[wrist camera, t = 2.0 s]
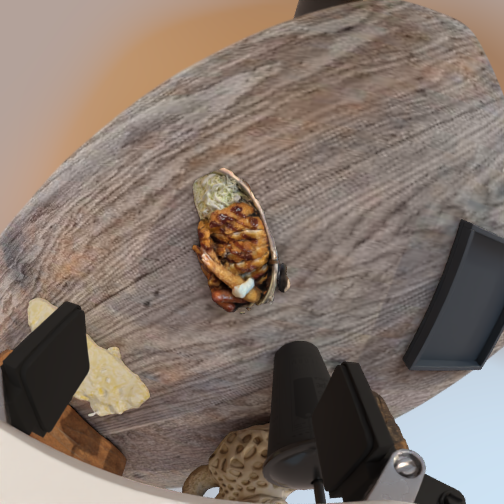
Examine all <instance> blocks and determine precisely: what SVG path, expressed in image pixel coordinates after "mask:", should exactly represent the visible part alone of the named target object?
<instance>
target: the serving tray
mask: <svg viewBox="0 0 504 504" xmlns="http://www.w3.org/2000/svg"><path fill="white" fill-rule="evenodd" d="M503 330H504V238H502V237H500V236H498V235H496V234H494V233H492V232H490V231H488V230H485V229H483V228H481V227H479V226H477V225H474V224H472V223H470V222H467V221H465V220H463V219H461V223H460V226H459V229H458V232H457V236H456V239H455V242H454V245H453V248H452V251H451V253H450V256H449V259H448V262H447V265H446V267H445V270H444V272H443V275H442V278H441V280H440V283H439V285H438V287H437V290H436V292H435V295H434V297H433V299H432V301H431V304H430V306H429V308H428V310H427V313H426V315H425V317H424V319H423V321H422V323H421V325H420V327H419V329H418V331H417V333H416V335H415V337H414V339H413V341H412V343H411V345H410V347H409V349H408V351H407V352H406V354H405V356H404V358H403V361H404V362H405V364H406V366H407V367H408V369H409V370H429V371H453V370H481V369H482V367H483V365H484V364H485V362H486V360H487V359H488V357H489V355H490V354H491V352H492V350H493V348H494V347H495V345H496V343H497V341H498V339H499V337H500V336H501V334H502V332H503Z"/></svg>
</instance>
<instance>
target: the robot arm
mask: <svg viewBox="0 0 504 504" xmlns="http://www.w3.org/2000/svg"><path fill="white" fill-rule="evenodd" d="M89 369H90V363H89V355H88V347H87V337H86V326H85V314H84V311H82V310H81V307H80V306H79V305H77V304H74V303H71V302H68V301H66V302H64V303H63V304H62V305H61V306H60V307H59V308H58V309H56V310H55V311H54V312H53V313H52V314H51V315H50V316H49V317H48V318H47V319H45V320H44V321H43V322H42V323H41V324H40V325H39V326H38V327H37V328H36V329H35V330H34V331H33V332H32V333H31V334H29V335H28V336H27V337H26V338H25V339H24V340H23V341H22V342H21V343H20V344H19V345H18V346H17V347H16V348H15V349H14V350H13V351H12V352H11V353H10V354H9V355H8V356H7V357H6V358H5V359H4V360H3V364H2V365H1V366H0V504H265V503H250V502H239V501H230V500H222V499H215V498H208V497H202V496H196V495H191V494H186V493H181V492H176V491H172V490H168V489H163V488H159V487H156V486H152V485H148V484H145V483H141V482H138V481H134V480H131V479H128V478H125V477H122V476H119V475H116V474H113V473H110V472H107V471H105V470H102V469H99V468H97V467H94V466H92V465H89V464H87V463H84V462H82V461H80V460H77V459H75V458H73V457H71V456H68V455H66V454H64V453H62V452H60V451H58V450H56V449H54V448H52V447H50V446H48V445H46V444H44V443H42V442H40V441H38V440H36V439H34V438H32V437H31V436H29V435H30V434H31V432H33V433H35V434H37V435H39V436H41V437H42V438H44V436H45V434H46V433H47V432H48V433H50V432H51V431H52V430H53V428H54V426H55V425H56V423H57V421H58V420H59V418H60V416H61V415H62V413H63V412H64V410H65V408H66V407H67V405H68V404H69V402H70V400H71V399H72V397H73V396H74V394H75V393H76V391H77V389H78V388H79V386H80V385H81V383H82V382H83V380H84V379H85V377H86V376H87V374H88V372H89ZM312 425H313V430H314V435H315V441H316V446H317V451H318V457H319V462H320V468H321V473H322V479H323V484H324V489H325V490H326V491H329V495H330V498H340V497H342V498H343V502H342V503H327V504H466V502H465V498H464V496H463V495H462V494H461V492H460V491H458V490H456V489H454V488H452V487H450V486H448V485H446V484H444V483H442V482H440V481H438V480H436V479H434V478H432V477H430V476H428V475H427V474H425V470H426V466H425V462H424V460H423V458H422V457H421V456H420V455H419V454H417V453H416V452H414V451H412V450H409V449H400V450H397V451H396V448H395V446H394V442H393V440H392V437H391V435H390V433H389V430H388V428H387V425H386V423H385V421H384V418H383V416H382V414H381V411H380V409H379V407H378V405H377V402H376V400H375V398H374V395H373V393H372V391H371V389H370V387H369V384H368V382H367V380H366V378H365V375H364V373H363V371H362V369H361V367H360V365H359V363H354V362H342V363H341V365H337V366H336V368H335V370H334V372H333V374H332V376H331V378H330V380H329V382H328V384H327V386H326V388H325V390H324V392H323V394H322V396H321V398H320V400H319V402H318V404H317V406H316V408H315V409H314V411H313V414H312Z"/></svg>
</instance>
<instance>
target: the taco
mask: <svg viewBox="0 0 504 504" xmlns="http://www.w3.org/2000/svg"><path fill="white" fill-rule="evenodd" d="M192 188H193V194H194V202H195V205H196V208H197V212H198V214H199V217H200V219H201V220H200V222H199V225H198V236H199V240H200V244H201V248H199V247H198V245H197V246H196V245H193V247H192V249H193V250H194V251H195V252H196V254H197V256H198V259H199V263H200V266H201V269H202V271H203V273H204V274H205V276H206V277H207V279H208V285H209V287H210V290H211V292H212V300H213V301H214V302H216V304H217V305H219V306H220V307H221V308H223V309H224V310H225V311H227V312H235V311H236V310H238V309H240V308H241V307H247V308H246V309H247V310H248V311H249V310H251V308H250V309H249V308H248V307H251V306H253V305H254V304H256V305H261V304H262V303H264V304H265V303H269V302H270V301H273V300H274V296H273V294H274V291H275V288H276V283H277V279H279V280H278V281H279V284H278V288H279V289H278V290H280V291H281V292H286V291H287V290H288V289H289V287H290V281H289V279H288V278H287V274H286V273H287V267H286V265H285V264H284V263H282V264H281V265H280V262H279V259H278V258H279V257H278V255H277V251H276V248H275V242H274V237H273V236H272V235H271V232H270V230H269V227H268V226H267V224H266V220H265V216H264V214H265V212H264V211H263V210H262V209H261V206H260V204H259V202H258V200H257V199H255V198H254V195H253V193H252V192H251V189H250V186H249V185H248V183H247V182H245V181H244V180H243V179H241V178H238V177H236V176H235V175H234V173H233V172H232V171H230V170H227V169H225V168H221V169H219V170H217V171H214V172H212V173H210V174H207V175H205V176H203V177H201V178H199V179H197V180H195V182H194V184H193V186H192ZM270 305H272V303H270ZM240 314H245V312H240Z"/></svg>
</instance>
